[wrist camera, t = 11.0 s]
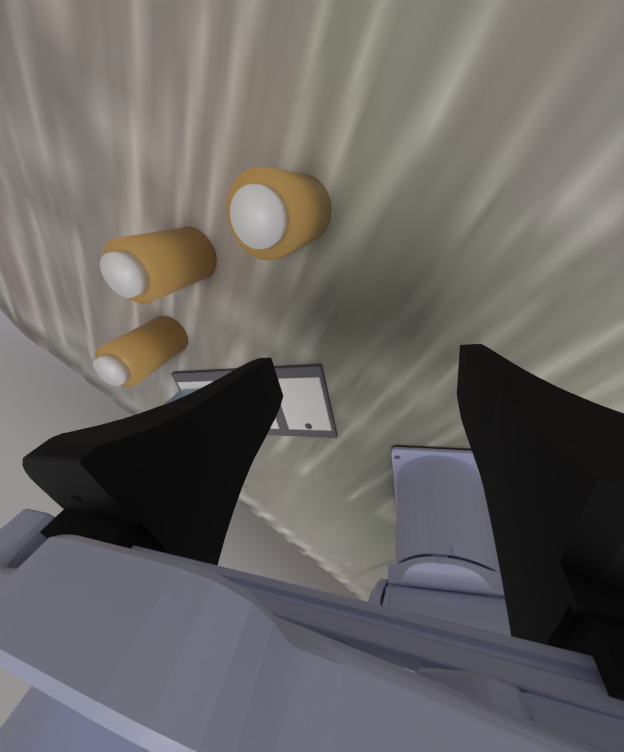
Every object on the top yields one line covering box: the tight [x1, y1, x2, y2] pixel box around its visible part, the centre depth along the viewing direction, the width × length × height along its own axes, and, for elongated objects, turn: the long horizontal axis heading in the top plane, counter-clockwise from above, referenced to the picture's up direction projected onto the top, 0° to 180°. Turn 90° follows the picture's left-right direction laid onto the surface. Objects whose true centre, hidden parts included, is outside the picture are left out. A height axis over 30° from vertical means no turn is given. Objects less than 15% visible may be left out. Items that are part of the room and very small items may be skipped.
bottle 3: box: [227, 167, 331, 260], centre depth 14 cm, size 4×4×7 cm
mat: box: [171, 364, 337, 438], centre depth 27 cm, size 8×16×1 cm, turn 102°
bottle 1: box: [100, 227, 216, 304], centre depth 18 cm, size 4×4×7 cm
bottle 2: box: [93, 316, 188, 387], centre depth 23 cm, size 4×4×7 cm
